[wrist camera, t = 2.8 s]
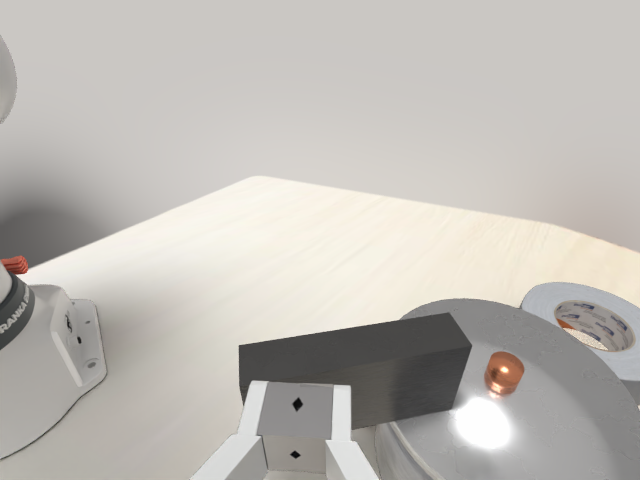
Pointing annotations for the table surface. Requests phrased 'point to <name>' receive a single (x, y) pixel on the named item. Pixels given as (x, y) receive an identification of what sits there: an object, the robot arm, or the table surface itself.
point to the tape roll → (594, 324)
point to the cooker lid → (471, 391)
